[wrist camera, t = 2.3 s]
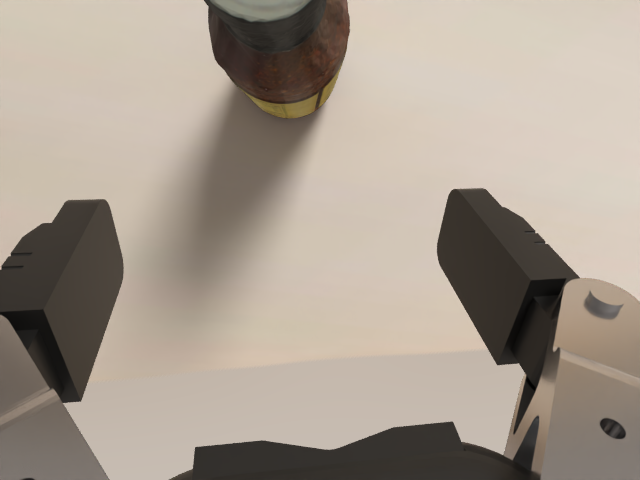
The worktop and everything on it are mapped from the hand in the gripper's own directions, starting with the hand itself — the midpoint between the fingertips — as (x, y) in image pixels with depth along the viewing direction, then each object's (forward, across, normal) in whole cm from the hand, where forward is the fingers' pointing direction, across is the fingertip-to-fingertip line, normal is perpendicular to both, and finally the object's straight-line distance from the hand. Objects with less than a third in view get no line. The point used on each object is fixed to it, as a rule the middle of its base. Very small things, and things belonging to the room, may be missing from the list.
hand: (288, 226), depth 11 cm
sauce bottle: (+23, +2, -2) cm, 23 cm away
